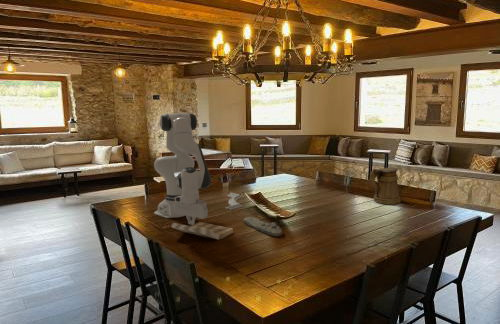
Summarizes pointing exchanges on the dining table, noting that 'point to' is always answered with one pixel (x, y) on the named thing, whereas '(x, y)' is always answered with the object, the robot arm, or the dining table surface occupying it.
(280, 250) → the dining table surface
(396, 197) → the tankard
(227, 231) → the oak board
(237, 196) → the molding
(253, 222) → the long grey stone
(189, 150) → the robot arm
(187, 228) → the birch plank
